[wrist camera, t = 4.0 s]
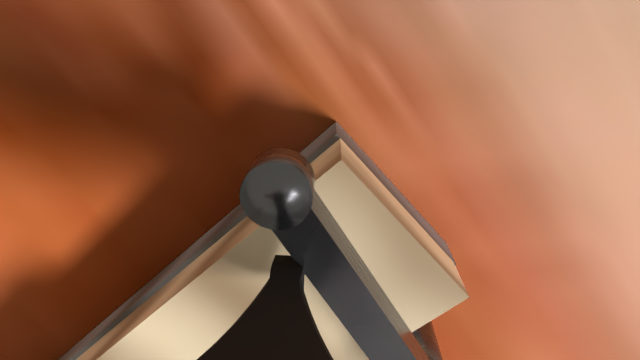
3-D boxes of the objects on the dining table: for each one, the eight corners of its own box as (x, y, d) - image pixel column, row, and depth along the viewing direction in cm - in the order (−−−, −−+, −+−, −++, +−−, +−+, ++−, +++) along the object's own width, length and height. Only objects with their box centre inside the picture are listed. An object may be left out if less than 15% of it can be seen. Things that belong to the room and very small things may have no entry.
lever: (435, 313, 17) (471, 428, 13) (397, 329, 18) (419, 446, 13) (301, 103, 14) (284, 155, 9) (258, 129, 14) (222, 192, 10)
